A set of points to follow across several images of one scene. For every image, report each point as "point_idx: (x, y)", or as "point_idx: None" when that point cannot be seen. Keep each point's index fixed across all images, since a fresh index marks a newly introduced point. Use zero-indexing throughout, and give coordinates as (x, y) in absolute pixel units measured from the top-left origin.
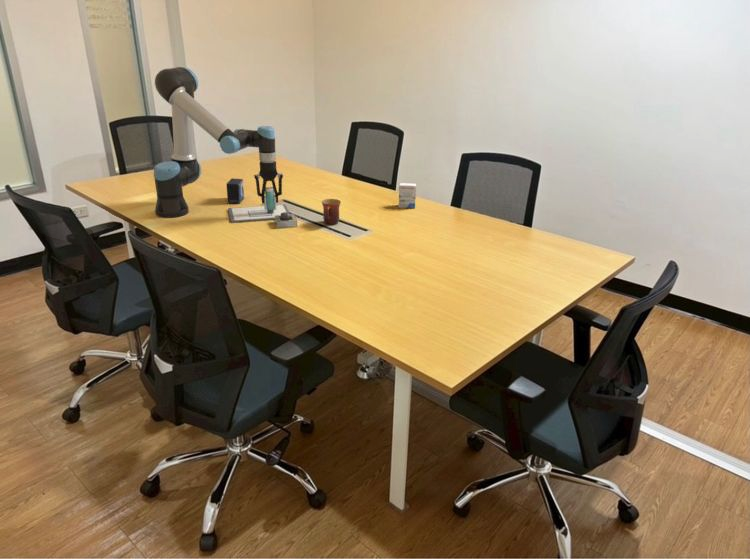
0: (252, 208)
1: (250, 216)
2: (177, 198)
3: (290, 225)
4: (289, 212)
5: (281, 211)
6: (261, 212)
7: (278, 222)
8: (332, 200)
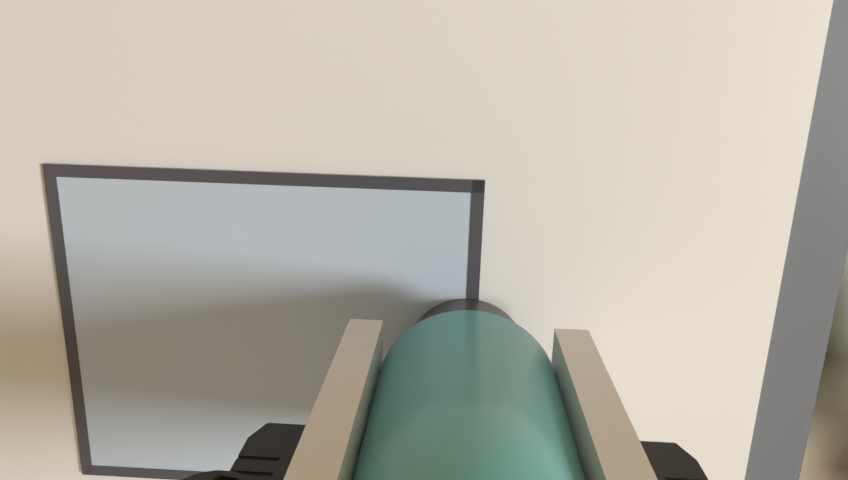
0: None
1: (96, 456)
2: None
3: None
4: (815, 393)
5: (684, 327)
6: (298, 302)
7: None
8: None
